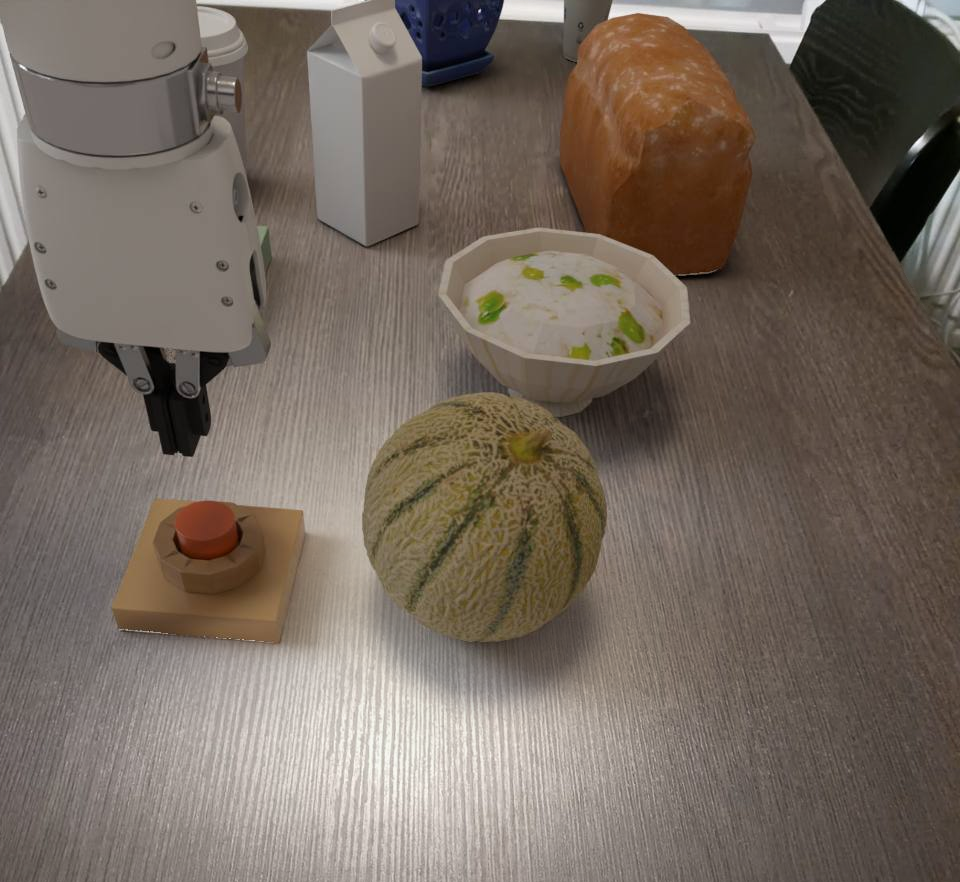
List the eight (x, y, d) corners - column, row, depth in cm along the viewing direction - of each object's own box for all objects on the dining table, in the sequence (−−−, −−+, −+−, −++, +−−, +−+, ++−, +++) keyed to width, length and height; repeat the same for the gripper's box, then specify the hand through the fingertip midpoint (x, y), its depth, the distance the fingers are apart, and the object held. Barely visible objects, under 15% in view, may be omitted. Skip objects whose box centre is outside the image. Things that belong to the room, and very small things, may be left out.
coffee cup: (169, 167, 100) (140, 0, 88) (264, 168, 101) (247, 4, 89) (160, 211, 94) (128, 39, 82) (261, 213, 95) (242, 43, 83)
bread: (595, 280, 91) (625, 102, 79) (550, 155, 108) (569, -7, 96) (736, 280, 93) (786, 106, 81) (670, 157, 109) (704, -2, 97)
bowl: (634, 494, 72) (663, 380, 64) (395, 425, 75) (395, 308, 67) (689, 358, 84) (719, 248, 76) (481, 304, 87) (489, 193, 79)
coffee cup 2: (617, 59, 127) (631, -30, 120) (583, 71, 124) (596, -19, 116) (577, 43, 130) (588, -45, 123) (543, 54, 127) (552, -35, 119)
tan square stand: (118, 631, 60) (103, 587, 57) (160, 521, 66) (149, 476, 63) (279, 644, 60) (273, 601, 57) (305, 533, 67) (301, 489, 64)
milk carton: (316, 220, 95) (302, -3, 80) (370, 198, 98) (366, -19, 84) (366, 249, 92) (361, 23, 77) (419, 225, 95) (424, 5, 81)
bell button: (173, 558, 59) (167, 537, 58) (187, 518, 62) (182, 497, 60) (231, 563, 60) (228, 542, 58) (243, 523, 62) (240, 502, 60)
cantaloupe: (383, 511, 69) (382, 323, 57) (589, 537, 68) (628, 353, 57) (343, 674, 59) (331, 487, 48) (582, 704, 59) (627, 523, 47)
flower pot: (355, 63, 121) (352, -51, 112) (436, 42, 127) (439, -67, 118) (425, 100, 115) (427, -16, 106) (505, 76, 121) (514, -35, 112)
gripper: (308, 78, 43) (326, 412, 58) (-29, 43, 43) (73, 388, 57) (278, 153, 39) (305, 496, 53) (-101, 114, 38) (29, 471, 52)
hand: (184, 439), depth 55 cm, fingers closed
